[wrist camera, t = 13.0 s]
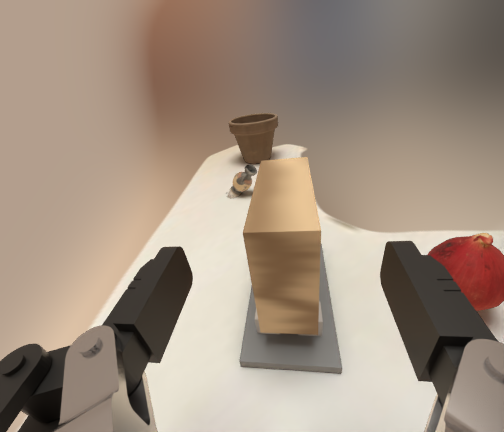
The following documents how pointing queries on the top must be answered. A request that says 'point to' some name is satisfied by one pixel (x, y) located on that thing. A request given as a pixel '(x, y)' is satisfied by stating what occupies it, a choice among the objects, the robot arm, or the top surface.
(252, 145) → the flower pot
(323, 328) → the peg stand
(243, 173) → the vase
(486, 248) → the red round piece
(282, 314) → the brown rectangular block
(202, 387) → the top surface
